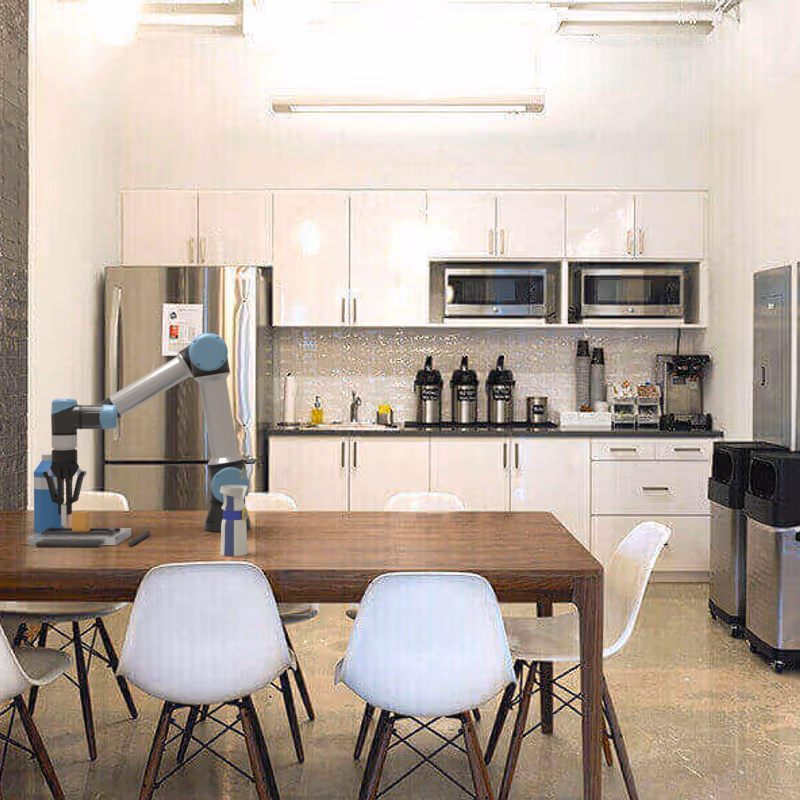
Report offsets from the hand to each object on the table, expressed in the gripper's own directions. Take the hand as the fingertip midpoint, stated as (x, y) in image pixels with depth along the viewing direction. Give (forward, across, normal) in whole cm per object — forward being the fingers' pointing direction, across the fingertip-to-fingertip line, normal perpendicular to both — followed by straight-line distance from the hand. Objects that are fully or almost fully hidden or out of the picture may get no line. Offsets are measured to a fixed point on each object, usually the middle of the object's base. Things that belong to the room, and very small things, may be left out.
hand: (65, 525), depth 311 cm
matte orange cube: (+2, -5, 0) cm, 5 cm away
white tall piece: (+5, -56, +22) cm, 60 cm away
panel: (+5, -5, 0) cm, 7 cm away
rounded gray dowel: (+5, -23, 0) cm, 23 cm away
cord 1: (+5, -5, +12) cm, 13 cm away
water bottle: (+5, +12, -20) cm, 24 cm away
